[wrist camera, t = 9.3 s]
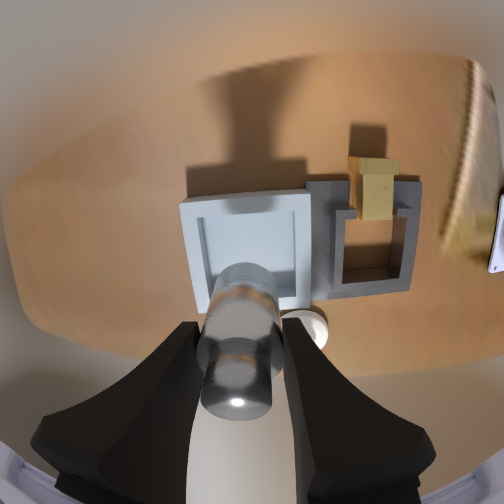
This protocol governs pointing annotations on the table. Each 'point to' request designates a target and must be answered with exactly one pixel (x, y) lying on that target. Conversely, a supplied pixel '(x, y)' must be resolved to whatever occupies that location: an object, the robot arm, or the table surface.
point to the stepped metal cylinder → (241, 343)
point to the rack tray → (250, 240)
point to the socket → (332, 242)
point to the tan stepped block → (373, 186)
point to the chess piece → (311, 325)
